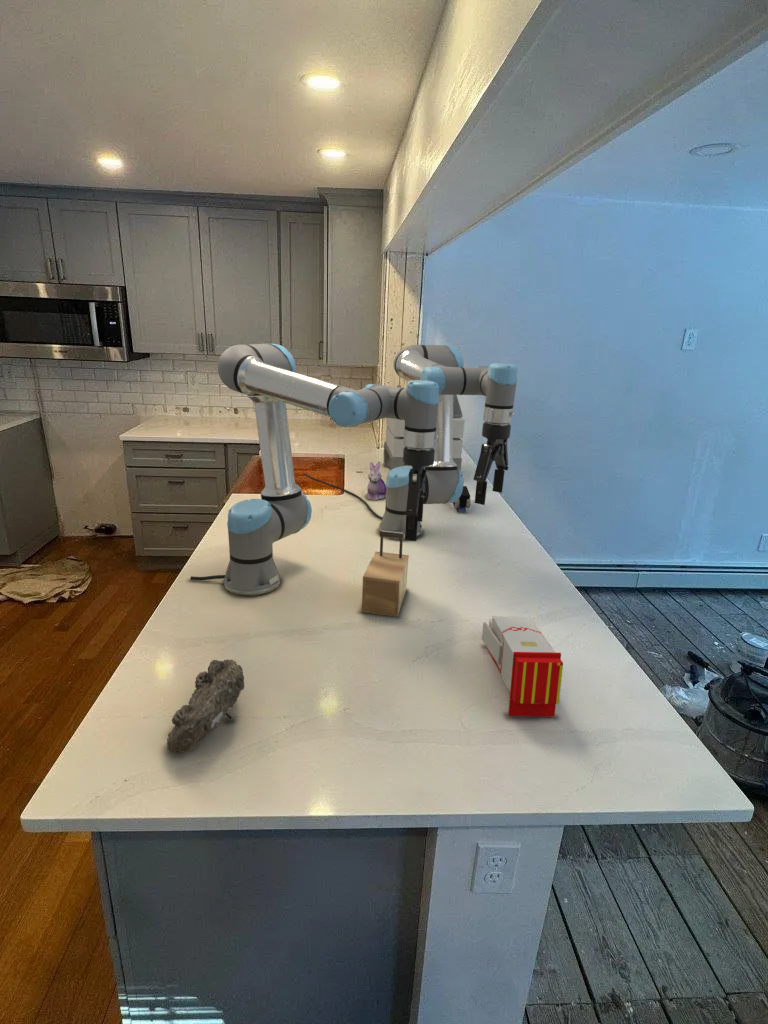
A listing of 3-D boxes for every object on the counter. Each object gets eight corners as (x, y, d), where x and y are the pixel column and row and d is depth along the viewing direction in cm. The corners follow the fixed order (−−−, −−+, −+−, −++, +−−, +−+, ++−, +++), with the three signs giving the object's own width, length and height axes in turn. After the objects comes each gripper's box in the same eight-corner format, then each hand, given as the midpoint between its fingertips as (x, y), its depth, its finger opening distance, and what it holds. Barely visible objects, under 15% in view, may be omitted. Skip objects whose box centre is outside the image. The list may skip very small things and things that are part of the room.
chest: (373, 585, 162) (374, 555, 159) (406, 589, 160) (408, 559, 157) (361, 612, 148) (362, 579, 144) (397, 616, 146) (399, 584, 143)
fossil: (192, 660, 117) (244, 628, 112) (224, 691, 120) (276, 661, 115) (142, 746, 98) (202, 712, 93) (182, 779, 101) (242, 748, 96)
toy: (528, 601, 136) (572, 659, 107) (523, 653, 139) (565, 722, 110) (478, 600, 136) (508, 657, 107) (474, 652, 139) (503, 722, 109)
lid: (375, 554, 160) (376, 526, 157) (408, 557, 158) (410, 529, 155) (362, 579, 144) (363, 548, 142) (399, 584, 143) (401, 553, 140)
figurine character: (470, 516, 223) (465, 500, 237) (473, 499, 220) (467, 484, 233) (453, 516, 223) (449, 500, 236) (455, 498, 220) (451, 483, 233)
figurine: (371, 501, 231) (372, 466, 226) (360, 494, 239) (361, 460, 234) (391, 499, 235) (393, 464, 230) (380, 492, 244) (382, 458, 238)
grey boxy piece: (382, 463, 289) (386, 382, 275) (445, 464, 293) (451, 384, 279) (390, 482, 257) (394, 392, 243) (460, 483, 261) (468, 394, 247)
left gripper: (430, 461, 123) (423, 551, 130) (438, 437, 146) (432, 514, 153) (396, 458, 124) (391, 547, 131) (410, 435, 147) (405, 512, 154)
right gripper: (493, 432, 141) (484, 512, 148) (525, 418, 161) (515, 489, 168) (465, 427, 144) (458, 506, 152) (500, 414, 165) (492, 484, 172)
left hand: (413, 530), depth 142 cm, fingers open, 13 cm apart
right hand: (488, 497), depth 160 cm, fingers open, 13 cm apart
